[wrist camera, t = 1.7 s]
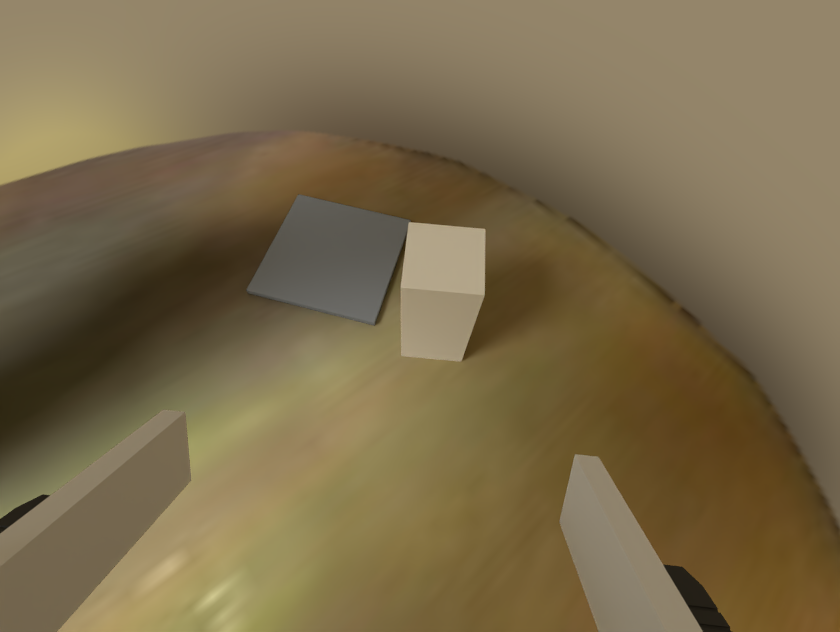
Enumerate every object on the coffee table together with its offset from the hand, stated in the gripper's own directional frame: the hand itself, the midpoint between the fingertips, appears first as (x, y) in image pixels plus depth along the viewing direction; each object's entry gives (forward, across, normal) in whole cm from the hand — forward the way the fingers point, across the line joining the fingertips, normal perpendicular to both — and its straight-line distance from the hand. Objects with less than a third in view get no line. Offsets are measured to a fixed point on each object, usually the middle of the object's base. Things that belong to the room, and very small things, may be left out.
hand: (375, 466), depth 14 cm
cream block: (+28, +2, -4) cm, 28 cm away
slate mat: (+33, -10, +1) cm, 35 cm away
